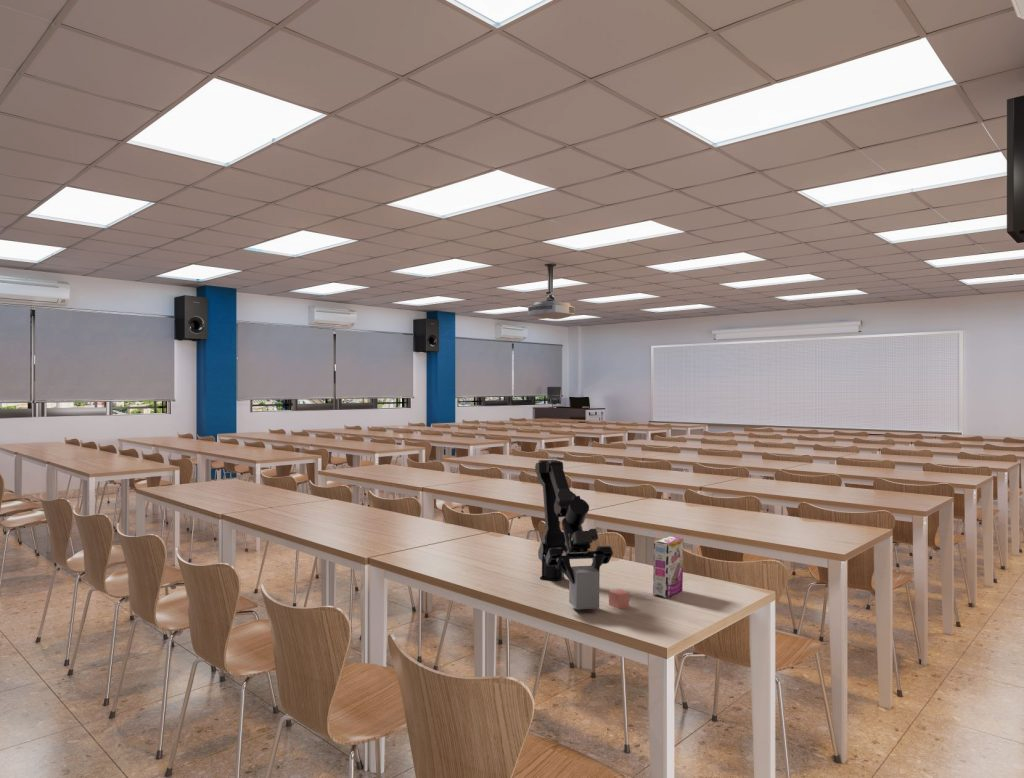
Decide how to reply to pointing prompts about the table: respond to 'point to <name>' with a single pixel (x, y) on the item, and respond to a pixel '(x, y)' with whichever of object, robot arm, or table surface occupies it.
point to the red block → (618, 599)
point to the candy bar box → (668, 566)
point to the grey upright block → (584, 587)
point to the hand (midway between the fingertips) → (585, 582)
